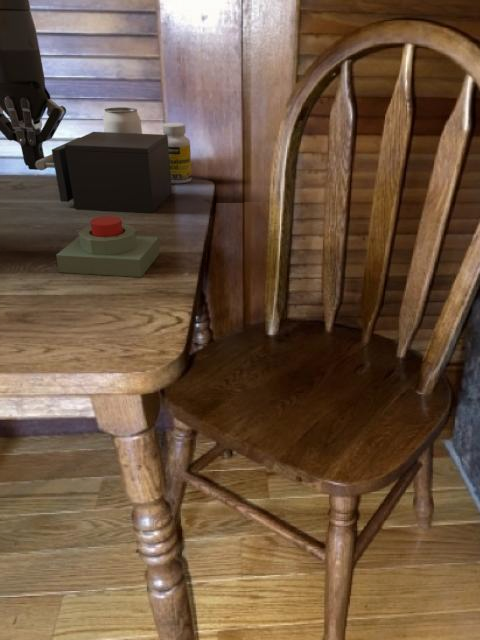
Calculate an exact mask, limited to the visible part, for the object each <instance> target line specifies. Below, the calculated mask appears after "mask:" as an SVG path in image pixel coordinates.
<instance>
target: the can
mask: <svg viewBox="0 0 480 640" xmlns="http://www.w3.org/2000/svg"><path fill="white" fill-rule="evenodd" d="M102 122H103V128H104V132H113V133H137V134H143V129H142V119H141V117H140V115H139V113H138V109H137V108H135V107H123V106H122V107H121V106H120V107H118V106H117V107H107V108H104V116H103V121H102Z"/></svg>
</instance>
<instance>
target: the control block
mask: <svg viewBox="0 0 480 640" xmlns="http://www.w3.org/2000/svg"><path fill="white" fill-rule="evenodd" d="M122 229H123V234H121V235H118V236H113V237H95V236H92V230H91V225H89V226H85V227H83V228H82V229H81V230H79V232H78V236H77V237H76V238H75V239H74V240H73V241H71V242H70V243H69V244H67V245H66V246H65V247H64V248H62V249H61V250H60V251H59V252H58V253H56V255H55V256H56V261H57V266H58V272H59V273H62V274H79V275H96V276H97V275H99V276H113V277H114V276H115V277H131V278H143V276H144V275H145V273H146V272H147V271H148V269H150V267H151V266H152V264H153V263H154V262H155V260H156V259H157V258H158V257H159V255H160V244H159V243H160V242H159V237H158V236H157V237H156V236H139V235H137V230H136V229H135V227H133V226H132V225H128V224H125V223H122Z"/></svg>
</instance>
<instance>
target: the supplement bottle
mask: <svg viewBox="0 0 480 640" xmlns="http://www.w3.org/2000/svg"><path fill="white" fill-rule="evenodd" d="M186 131H187V130H186V124H185V123H181V122H164V123H162V132H163V135H167V136H168V148H169V161H170V174H171V184H174V185H175V184H176V185H177V184H186V183H189V182H191V181H192V154H191V141H190V139H189V138H188V137H187V136H185V134H186Z"/></svg>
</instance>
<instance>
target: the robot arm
mask: <svg viewBox="0 0 480 640" xmlns="http://www.w3.org/2000/svg"><path fill="white" fill-rule="evenodd" d="M45 112H46V115H47V119H46V121H45V123H44V125H43V120H42V119H43V116H44V115H45ZM4 113H5V114H4ZM66 113H67V109H66V107H65V106H64V105H60V106H59V104H57V103H56V102H55V101H53V100H52V99H51V94H50V92H49V91H48V89H47V87H46V77H45V72H44V67H43V62H42V55H41V49H40V44H39V39H38V33H37V28H36V24H35V20H34V18H33V14H32V11H31V3H30V0H0V132H1V134H2V135H3V136H4V137H5V138H6V139H7V140H8V141H10V142H11V141H14V142H16V143H18V144H19V146H20V148H21V153H22V158H23V163H24V164H25V166H26V167H28V170H35V171H39V170H38V169H37V168H36V166H35V163H36V161H38V160H40V159H42V158H45V154H44V149H43V144H44V142H47V141H49V140H51V139H53V137H54V136H55V133H56V132H57V130H58V128H59V126H60V125H61V123H62V121H63V119H64V117H65V115H66ZM6 115H7V116H6Z"/></svg>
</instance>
